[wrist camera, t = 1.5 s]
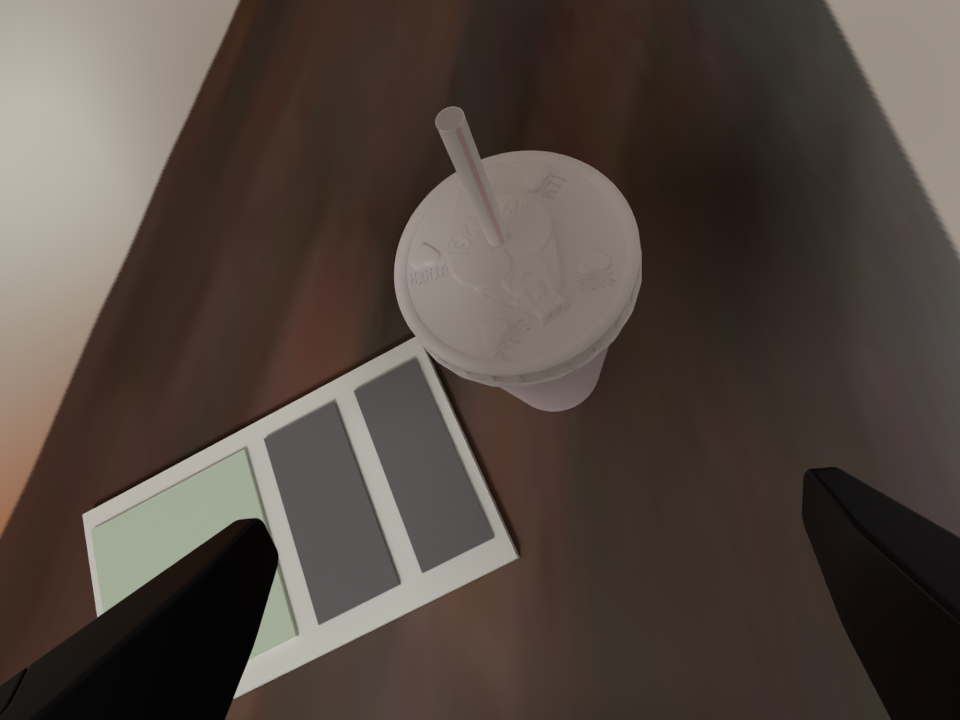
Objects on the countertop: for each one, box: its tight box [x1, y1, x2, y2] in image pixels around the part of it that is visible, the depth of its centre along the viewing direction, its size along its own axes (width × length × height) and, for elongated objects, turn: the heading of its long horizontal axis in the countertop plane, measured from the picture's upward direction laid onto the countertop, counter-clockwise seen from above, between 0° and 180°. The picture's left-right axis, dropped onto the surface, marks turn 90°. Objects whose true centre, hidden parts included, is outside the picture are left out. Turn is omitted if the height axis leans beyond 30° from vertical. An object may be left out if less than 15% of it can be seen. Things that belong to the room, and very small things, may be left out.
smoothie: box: [394, 107, 642, 412], centre depth 16 cm, size 6×6×14 cm
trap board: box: [83, 337, 520, 699], centre depth 23 cm, size 10×18×1 cm, turn 114°
